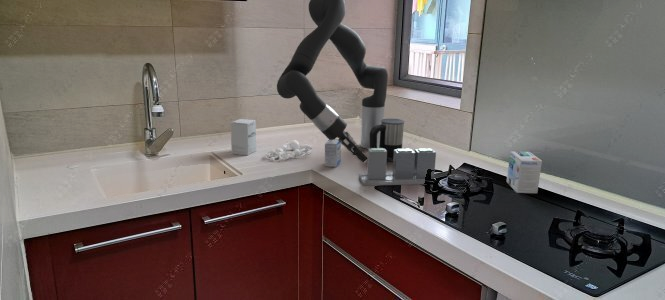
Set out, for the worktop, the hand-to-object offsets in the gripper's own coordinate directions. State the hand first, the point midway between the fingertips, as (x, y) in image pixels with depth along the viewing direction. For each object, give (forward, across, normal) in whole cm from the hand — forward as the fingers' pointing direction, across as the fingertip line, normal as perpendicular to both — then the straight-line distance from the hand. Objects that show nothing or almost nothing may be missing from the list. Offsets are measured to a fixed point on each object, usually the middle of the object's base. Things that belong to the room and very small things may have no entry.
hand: (363, 156), depth 154 cm
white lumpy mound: (-9, +32, +22) cm, 40 cm away
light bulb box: (+42, -9, -30) cm, 52 cm away
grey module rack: (+14, 0, -2) cm, 14 cm away
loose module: (+8, 0, +2) cm, 9 cm away
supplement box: (-22, +38, +34) cm, 56 cm away
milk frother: (+17, +22, -5) cm, 29 cm away
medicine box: (+1, +20, +11) cm, 23 cm away
